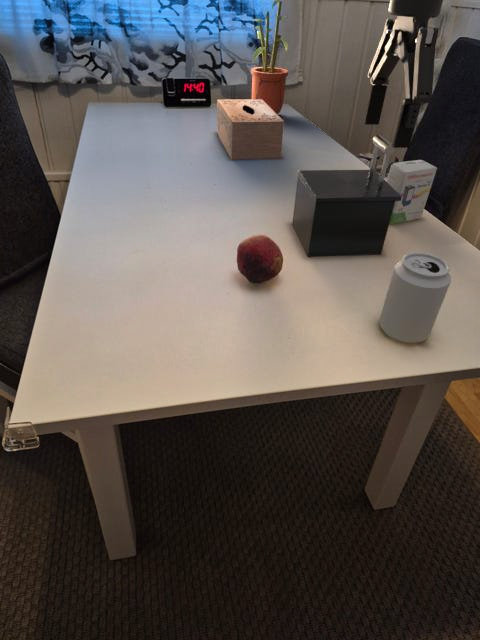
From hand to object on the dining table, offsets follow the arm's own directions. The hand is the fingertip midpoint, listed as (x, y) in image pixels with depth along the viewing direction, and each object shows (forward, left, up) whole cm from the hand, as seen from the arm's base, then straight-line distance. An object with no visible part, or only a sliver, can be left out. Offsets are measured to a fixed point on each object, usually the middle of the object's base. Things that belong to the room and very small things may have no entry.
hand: (384, 135), depth 78 cm
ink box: (-10, -12, -20) cm, 25 cm away
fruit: (+19, +19, -20) cm, 34 cm away
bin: (+5, +1, -20) cm, 21 cm away
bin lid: (+5, +1, -9) cm, 11 cm away
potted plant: (+28, -93, -20) cm, 99 cm away
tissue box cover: (+29, -56, -20) cm, 66 cm away
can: (-4, +29, -20) cm, 36 cm away
